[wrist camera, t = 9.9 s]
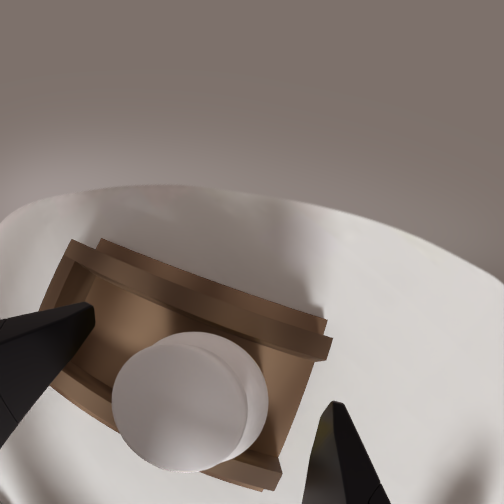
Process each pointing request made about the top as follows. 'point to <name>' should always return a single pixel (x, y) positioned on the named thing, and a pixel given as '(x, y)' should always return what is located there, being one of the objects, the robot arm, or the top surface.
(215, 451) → the supplement bottle
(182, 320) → the walnut rail track
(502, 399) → the top surface
